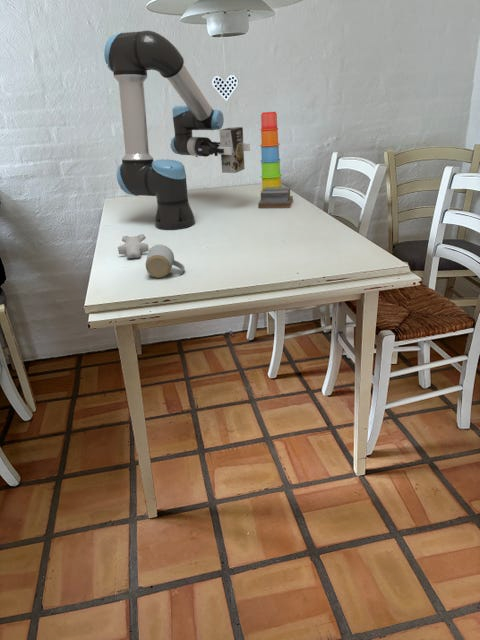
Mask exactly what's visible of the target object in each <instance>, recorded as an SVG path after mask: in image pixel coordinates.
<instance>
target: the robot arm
mask: <svg viewBox="0 0 480 640" xmlns="http://www.w3.org/2000/svg"><path fill="white" fill-rule="evenodd" d="M103 49H104V50H103V51H104V52H103V54H104V61H105V63H106V65H107V68H108V69H109V71H111V72H112V73H113V78H114V79H115V80H116V81H117V82H118V89H119V97H120V98H119V99H120V100H119V101H120V108H121V120H122V122H121V123H122V130H123V140H124V142H123V143H124V151H125V154H124V155H123V157H122V158H121V164H119V166H118V167H117V170H116V180H117V184H118V186H119V187H120V189H121V190H122V191H123V192H124V193H125V194H127V195H132V196H135V197H138V196H146V197H156V203H157V204H156V205H157V207H156V214H155V218H154V222H155V224H154V225H155V227H156V228H157V229H160V230H167V231H168V230H181V229H186V228H189V227H192V226H194V225H195V223H196V217H195V214H194V213H193V210H192V208H191V205H190V203H189V196H188V195H189V194H188V184H187V173H186V169H185V168H186V167H185V165H184V163H182V162H181V161H179V160H174V159H167V158H166V159H163V158H162V159H155V160H154V157H153V156H152V155H151V154H150V151H149V137H148V128H147V127H148V125H147V124H148V123H147V115H146V114H147V112H146V111H147V110H146V99H145V86H144V82H146V80H147V78H148V71H151V70H152V71H157V72H158V73H159V75H160V76H162V77H163V78H164V79H167V80H168V82H169V83H170V85H171V86H172V87H173V89H174V90H175V91H176V93H177V94H178V95H179V97H180V98H181V99H182V101H183V102H184V104H185V105H177V106H173V107H172V121H173V130H174V131H173V132H174V136H173V137H172V138H171V140H170V149H171V151H172V152H173V153H174V154H176V155H181V156H194V157H196V158H198V157H205V158H206V157H207V158H208V157H209V156H210V155H211V156H212V155H214V157H218V156H219V155H221V154H223V155H232V148H231V147H221V146H220V141H219V142H217V141H212V140H211V138H210V137H207V136H204V137H203V136H202V137H201V136H193V131H215V130H217V131H218V130H219V131H220V130H222V129H223V126H224V121H225V119H224V113H223V112H222V110H218V109H213V108H212V106H211V105H210V103H209V101H208V100H207V98H206V96H205V95H204V94H203V92H202V91H201V89H200V88H199V86H198V85H197V83H196V81H195V79H194V78H193V77H192V75H191V74H190V72H189V71H188V69H187V67H186V66H185V60H184V57H183V55H182V54H181V52H180V51H179V50H178V49H177V47H176V46H175V45H174V44H173V43H172V42H171V41H170V40H168V39H167V38H166V37H165V36H163V35H162V34H160V33H157V32H155V31H152V30H143V31H131V32H130V31H129V32H119V33H117V34H112V35H111V36H109V37H108V39H107V40H106V42H105V45H104V48H103ZM243 146H244V152H250V151H251V144H250V143H247V142H246V143H245V142H243Z"/></svg>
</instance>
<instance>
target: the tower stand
mask: <svg viewBox="0 0 480 640" xmlns="http://www.w3.org/2000/svg"><path fill="white" fill-rule="evenodd" d="M293 198H294V196H293V195H291V186H285V187H284V186H281V187H265V188H264V189H263V191H262V192H261V191H260V200H259V202H258V204H257V205H258V207H257V208H258V209H290V208H291V206H292V203H293V200H294V199H293Z"/></svg>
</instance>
